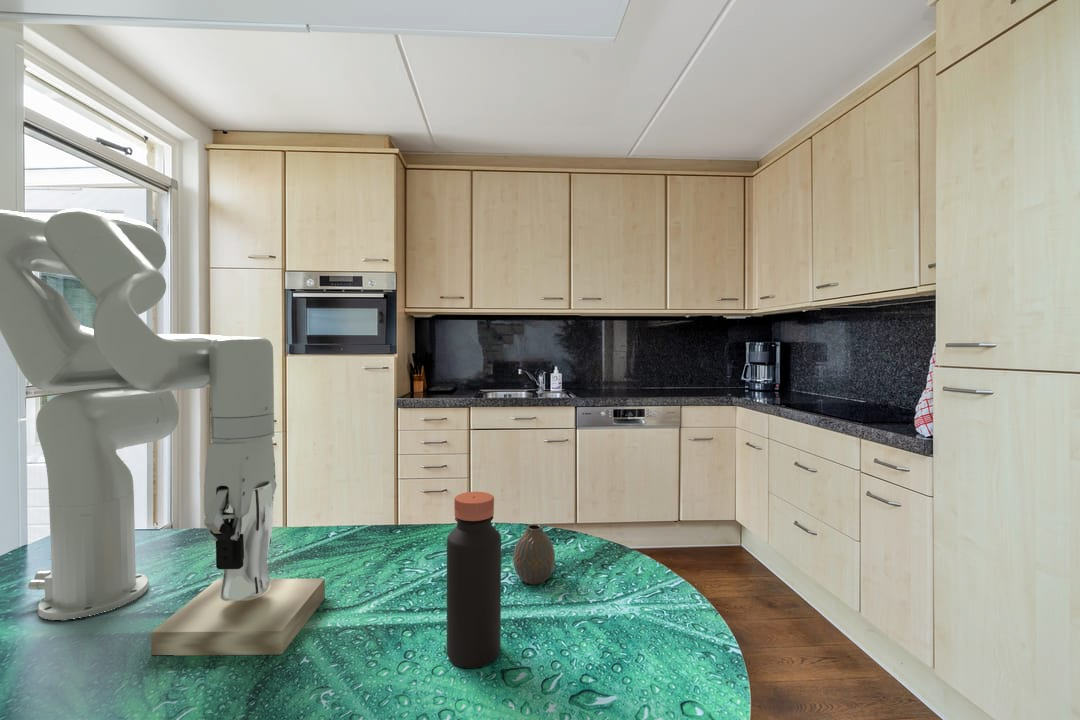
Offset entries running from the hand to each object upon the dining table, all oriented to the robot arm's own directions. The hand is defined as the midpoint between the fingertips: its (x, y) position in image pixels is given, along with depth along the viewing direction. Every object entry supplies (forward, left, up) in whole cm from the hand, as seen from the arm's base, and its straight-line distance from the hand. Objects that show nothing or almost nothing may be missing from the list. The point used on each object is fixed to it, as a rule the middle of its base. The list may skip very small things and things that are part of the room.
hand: (245, 555), depth 71 cm
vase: (+40, +13, -10) cm, 43 cm away
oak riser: (0, 0, -10) cm, 10 cm away
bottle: (+32, -7, -10) cm, 34 cm away
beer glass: (0, 0, -5) cm, 5 cm away
